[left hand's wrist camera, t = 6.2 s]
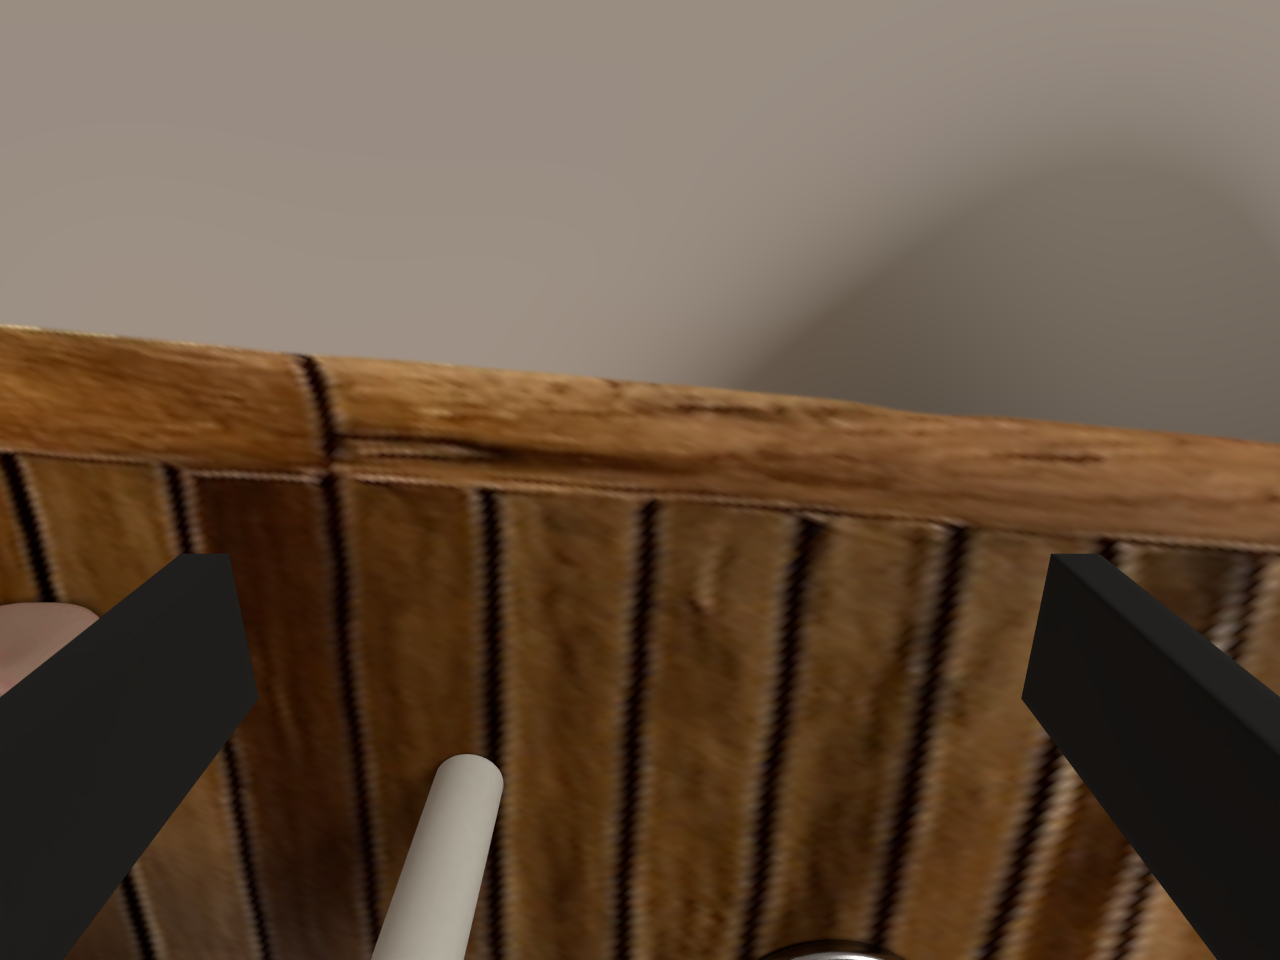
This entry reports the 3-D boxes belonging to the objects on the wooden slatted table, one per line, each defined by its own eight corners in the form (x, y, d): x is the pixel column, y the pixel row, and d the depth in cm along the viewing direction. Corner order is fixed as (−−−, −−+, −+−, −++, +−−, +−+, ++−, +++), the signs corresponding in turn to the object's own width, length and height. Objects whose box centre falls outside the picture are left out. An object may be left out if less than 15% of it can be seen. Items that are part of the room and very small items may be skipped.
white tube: (488, 816, 50) (401, 1176, 32) (425, 793, 49) (300, 1146, 31) (514, 768, 48) (438, 1115, 30) (450, 743, 48) (334, 1083, 30)
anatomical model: (5, 604, 40) (152, 766, 43) (59, 568, 43) (191, 720, 47) (-183, 703, 42) (-28, 850, 45) (-115, 661, 45) (23, 799, 49)
